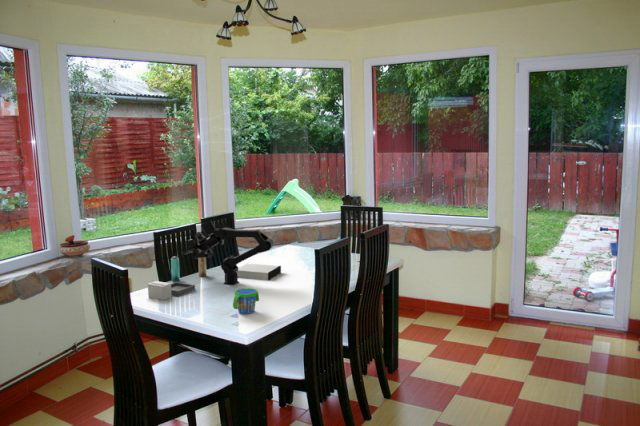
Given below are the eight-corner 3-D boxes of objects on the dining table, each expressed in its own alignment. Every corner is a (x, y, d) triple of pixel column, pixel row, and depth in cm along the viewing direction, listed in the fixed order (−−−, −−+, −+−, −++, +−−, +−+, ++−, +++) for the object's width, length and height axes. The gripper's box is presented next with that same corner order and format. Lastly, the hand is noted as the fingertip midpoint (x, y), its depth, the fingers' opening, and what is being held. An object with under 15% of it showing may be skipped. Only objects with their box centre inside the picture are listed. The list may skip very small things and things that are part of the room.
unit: (171, 296, 264) (171, 283, 263) (163, 299, 258) (162, 286, 257) (157, 293, 268) (156, 280, 267) (148, 297, 263) (147, 283, 262)
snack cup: (251, 305, 250) (250, 285, 248) (266, 310, 243) (266, 289, 241) (226, 313, 238) (225, 292, 236) (241, 318, 231) (240, 297, 230)
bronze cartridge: (207, 275, 305) (207, 252, 303) (203, 277, 301) (202, 254, 299) (202, 274, 307) (201, 252, 305) (197, 276, 303) (196, 253, 301)
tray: (195, 289, 276) (194, 285, 275) (177, 296, 264) (177, 291, 264) (176, 286, 282) (176, 281, 281) (159, 292, 270) (159, 287, 270)
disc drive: (269, 281, 295) (269, 272, 294) (234, 277, 302) (234, 269, 301) (281, 273, 311) (281, 265, 311) (247, 270, 318) (247, 262, 318)
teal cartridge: (181, 280, 295) (180, 256, 293) (176, 281, 291) (175, 258, 289) (175, 279, 297) (174, 255, 295) (170, 280, 293) (169, 257, 291)
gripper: (216, 235, 299) (196, 248, 302) (196, 225, 283) (175, 239, 286) (222, 250, 294) (200, 264, 297) (202, 242, 278) (179, 256, 281)
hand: (189, 255), depth 290 cm, fingers open, 9 cm apart
